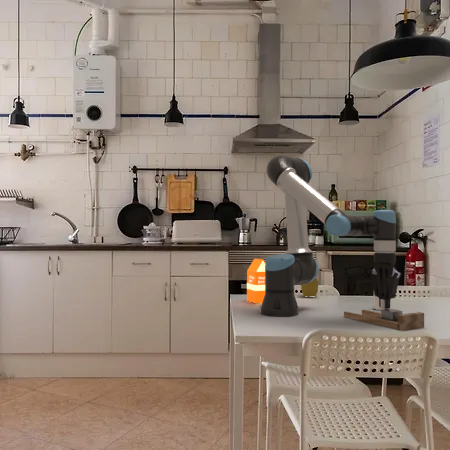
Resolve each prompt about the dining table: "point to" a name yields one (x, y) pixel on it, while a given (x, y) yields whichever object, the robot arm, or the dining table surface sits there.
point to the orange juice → (256, 281)
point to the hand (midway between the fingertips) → (384, 316)
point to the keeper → (390, 314)
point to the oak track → (402, 323)
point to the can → (376, 303)
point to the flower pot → (310, 288)
